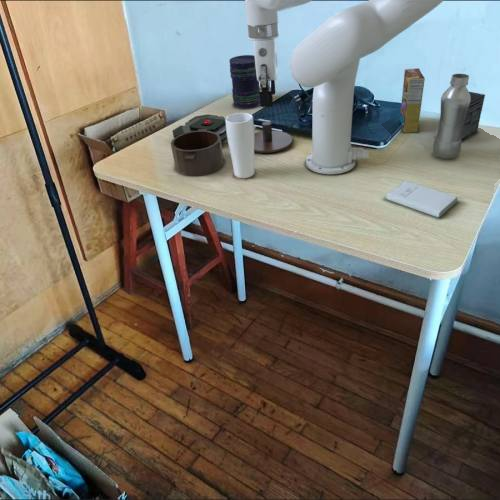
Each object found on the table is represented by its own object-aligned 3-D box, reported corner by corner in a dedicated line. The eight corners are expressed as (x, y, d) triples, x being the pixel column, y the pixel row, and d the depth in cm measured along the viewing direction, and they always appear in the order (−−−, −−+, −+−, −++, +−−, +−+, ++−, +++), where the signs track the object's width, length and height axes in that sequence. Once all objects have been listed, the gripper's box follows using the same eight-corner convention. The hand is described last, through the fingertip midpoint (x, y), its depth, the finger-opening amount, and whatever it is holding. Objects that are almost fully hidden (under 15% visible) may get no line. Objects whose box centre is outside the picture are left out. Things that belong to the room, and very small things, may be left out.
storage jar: (267, 104, 157) (264, 58, 148) (242, 111, 153) (238, 65, 144) (251, 97, 164) (248, 53, 155) (228, 103, 160) (223, 59, 151)
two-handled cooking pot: (227, 149, 130) (225, 125, 125) (217, 180, 115) (214, 155, 111) (183, 150, 131) (179, 127, 127) (167, 181, 117) (162, 156, 112)
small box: (456, 126, 130) (464, 89, 124) (478, 132, 126) (487, 94, 120) (434, 137, 126) (441, 99, 119) (456, 144, 121) (464, 105, 115)
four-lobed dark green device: (217, 151, 129) (215, 136, 126) (167, 142, 137) (164, 127, 134) (248, 127, 141) (247, 113, 138) (201, 120, 149) (199, 106, 146)
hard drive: (438, 219, 94) (385, 199, 102) (456, 202, 99) (404, 185, 106) (439, 212, 93) (386, 193, 101) (458, 196, 98) (405, 179, 105)
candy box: (398, 121, 137) (404, 68, 127) (413, 120, 136) (420, 67, 127) (402, 132, 130) (409, 78, 120) (417, 132, 129) (426, 77, 120)
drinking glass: (254, 181, 113) (250, 123, 104) (228, 180, 115) (221, 123, 106) (259, 168, 119) (255, 112, 110) (234, 167, 120) (228, 112, 111)
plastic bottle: (450, 164, 113) (466, 82, 101) (425, 156, 117) (439, 76, 105) (464, 155, 116) (482, 75, 104) (440, 148, 120) (454, 70, 108)
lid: (293, 133, 135) (292, 113, 131) (291, 154, 124) (291, 132, 120) (246, 134, 137) (244, 114, 133) (240, 155, 126) (238, 134, 122)
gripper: (276, 37, 105) (280, 110, 115) (280, 23, 119) (283, 89, 128) (243, 40, 106) (251, 112, 116) (251, 25, 120) (257, 91, 130)
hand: (268, 100), depth 122 cm, fingers open, 9 cm apart
